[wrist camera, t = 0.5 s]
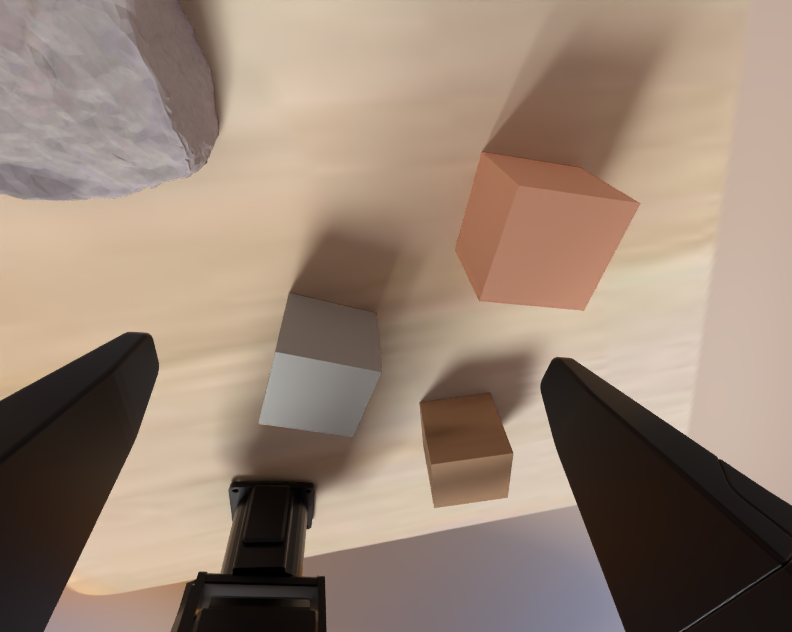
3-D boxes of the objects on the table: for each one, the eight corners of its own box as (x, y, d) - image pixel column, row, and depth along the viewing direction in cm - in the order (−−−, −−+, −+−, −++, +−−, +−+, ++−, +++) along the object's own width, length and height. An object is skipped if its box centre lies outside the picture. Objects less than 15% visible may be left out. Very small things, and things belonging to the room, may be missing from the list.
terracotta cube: (541, 259, 22) (583, 310, 18) (454, 249, 21) (479, 300, 17) (579, 166, 19) (640, 203, 15) (481, 151, 18) (518, 185, 14)
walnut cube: (487, 436, 31) (507, 497, 27) (423, 445, 31) (434, 507, 27) (489, 391, 28) (513, 453, 24) (419, 401, 28) (430, 464, 24)
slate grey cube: (352, 373, 26) (353, 437, 22) (273, 358, 24) (258, 423, 20) (376, 312, 23) (381, 372, 19) (289, 292, 22) (275, 351, 18)
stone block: (249, 145, 19) (132, -192, 12) (227, 199, 16) (46, -218, 8) (2, 171, 19) (-270, -149, 12) (-69, 230, 16) (-508, -159, 8)
